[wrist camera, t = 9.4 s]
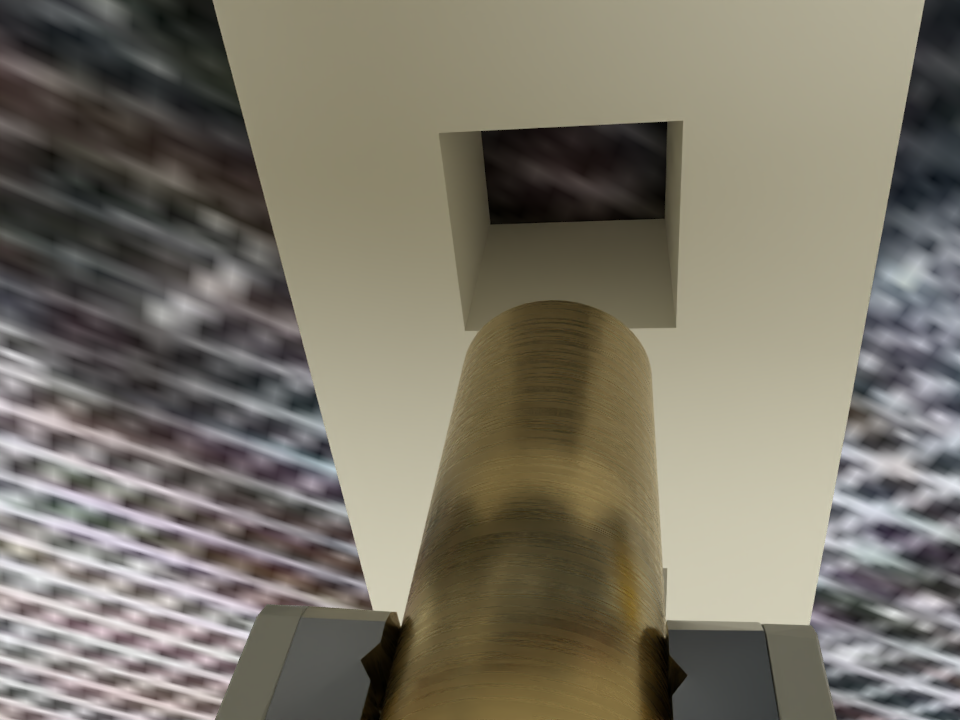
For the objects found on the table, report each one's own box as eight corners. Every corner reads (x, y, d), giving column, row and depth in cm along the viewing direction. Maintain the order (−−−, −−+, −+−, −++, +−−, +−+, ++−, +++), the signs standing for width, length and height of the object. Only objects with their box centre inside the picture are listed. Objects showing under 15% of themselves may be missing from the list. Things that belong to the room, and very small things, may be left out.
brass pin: (452, 302, 13) (208, 1171, 5) (653, 298, 13) (716, 1243, 5) (473, 450, 15) (310, 1276, 7) (651, 451, 15) (695, 1341, 7)
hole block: (293, -63, 20) (210, -6, 16) (863, -114, 18) (936, -63, 14) (426, 589, 32) (400, 712, 28) (766, 600, 30) (789, 733, 26)
